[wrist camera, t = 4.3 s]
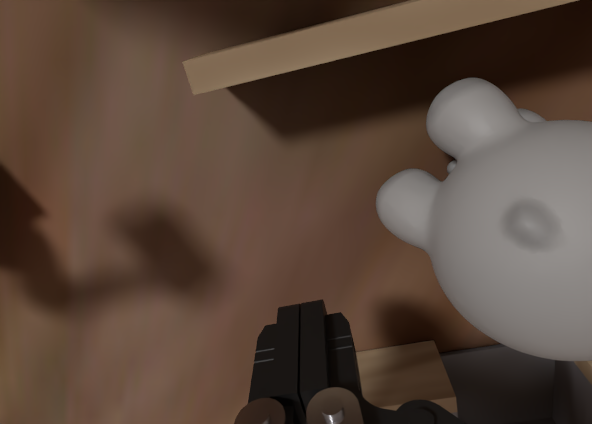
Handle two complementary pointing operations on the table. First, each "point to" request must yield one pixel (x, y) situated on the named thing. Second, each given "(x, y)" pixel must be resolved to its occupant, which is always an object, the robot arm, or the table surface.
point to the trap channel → (424, 355)
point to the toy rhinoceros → (505, 219)
